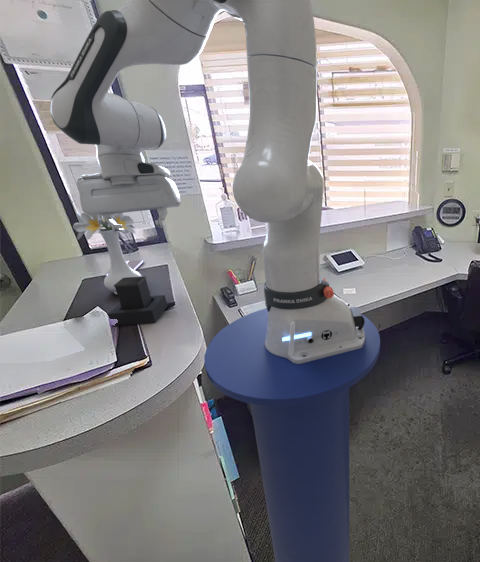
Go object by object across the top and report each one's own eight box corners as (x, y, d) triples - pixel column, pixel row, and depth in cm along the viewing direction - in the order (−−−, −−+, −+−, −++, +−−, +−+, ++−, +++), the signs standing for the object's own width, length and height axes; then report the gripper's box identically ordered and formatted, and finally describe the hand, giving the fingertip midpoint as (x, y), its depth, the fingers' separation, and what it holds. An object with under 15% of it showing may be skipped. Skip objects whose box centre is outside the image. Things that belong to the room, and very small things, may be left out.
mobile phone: (103, 274, 103) (119, 260, 116) (104, 277, 104) (120, 263, 116) (130, 272, 106) (143, 259, 119) (131, 275, 106) (144, 261, 119)
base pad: (167, 306, 86) (164, 294, 85) (155, 322, 78) (151, 310, 76) (128, 309, 84) (124, 297, 82) (111, 326, 75) (106, 314, 74)
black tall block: (155, 310, 83) (145, 276, 80) (147, 319, 79) (137, 283, 75) (133, 312, 82) (123, 277, 78) (125, 321, 78) (113, 285, 74)
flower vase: (150, 277, 105) (131, 202, 96) (151, 296, 91) (129, 211, 82) (101, 284, 98) (74, 204, 89) (94, 307, 84) (61, 215, 75)
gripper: (64, 173, 68) (82, 235, 71) (165, 164, 72) (179, 224, 75) (84, 178, 75) (100, 235, 77) (176, 170, 78) (189, 225, 81)
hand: (140, 229), depth 76 cm, fingers open, 8 cm apart
